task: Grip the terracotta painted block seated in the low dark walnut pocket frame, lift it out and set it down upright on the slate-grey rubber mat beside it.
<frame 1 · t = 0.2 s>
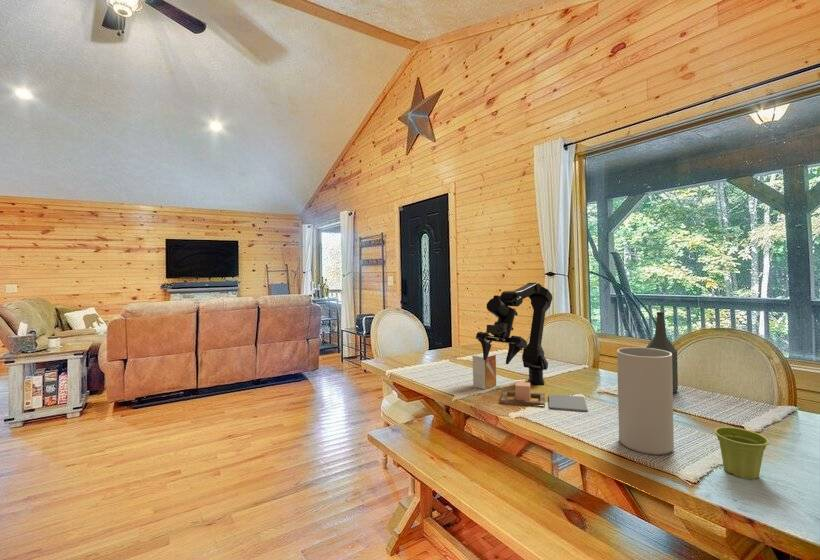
hand: (495, 362, 141), 14 cm above the table, tool tilted 30°, fingers open, 9 cm apart
holder: (523, 400, 142), on the table
plant pot: (741, 473, 88), on the table
bottle: (661, 390, 149), on the table
small box: (484, 386, 160), on the table
cylinder vase: (645, 445, 103), on the table
block: (523, 392, 142), in the holder
mat: (567, 403, 137), on the table
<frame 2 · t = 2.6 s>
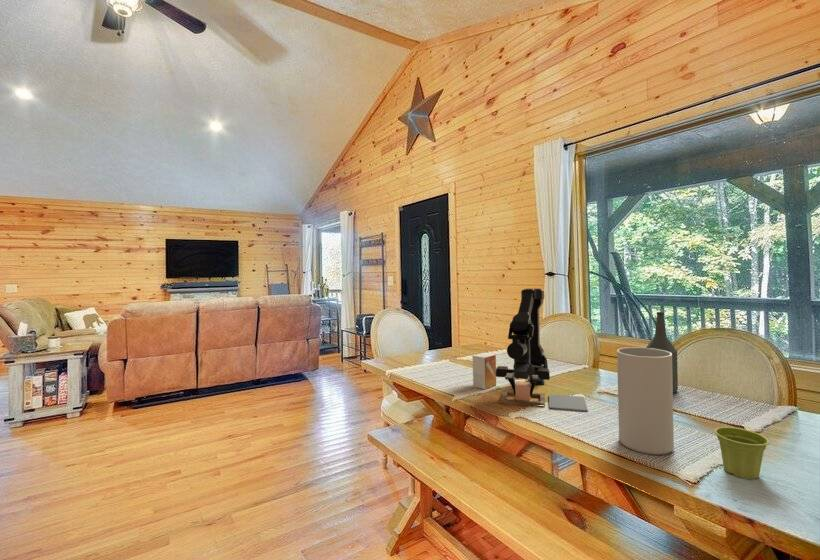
hand: (523, 395, 142), 2 cm above the table, tool pointing down, fingers closed on block, 5 cm apart
block: (523, 391, 142), in the holder, touching gripper
everything else where it was.
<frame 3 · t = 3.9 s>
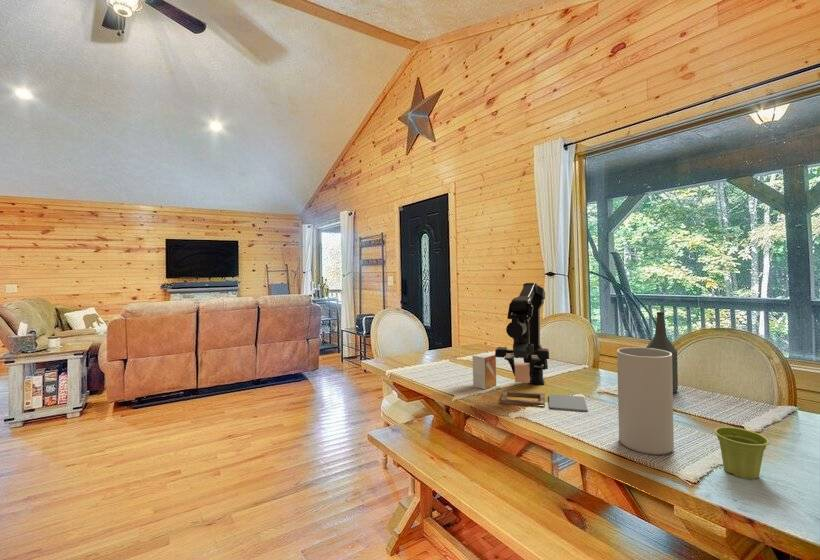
hand: (522, 376, 141), 9 cm above the table, tool pointing down, fingers closed on block, 5 cm apart
block: (522, 372, 141), point 10 cm above the table, touching gripper
everything else where it was.
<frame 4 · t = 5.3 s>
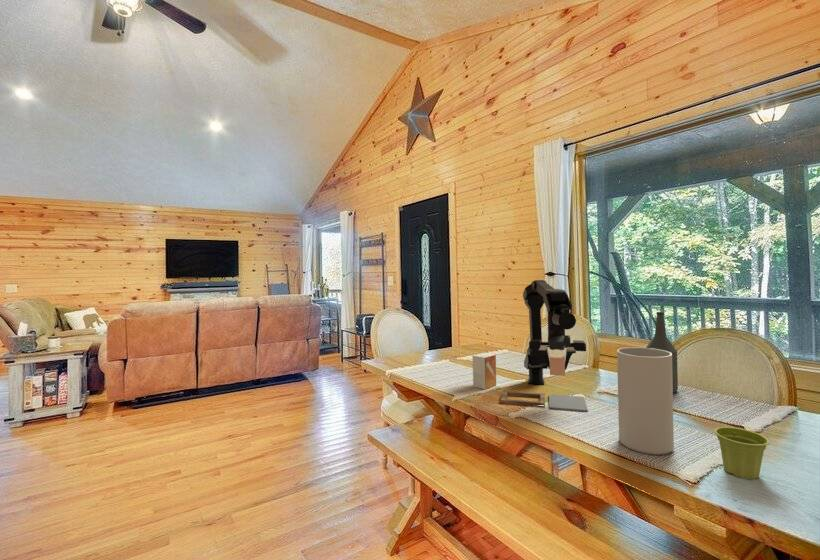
hand: (557, 369, 137), 12 cm above the table, tool pointing down, fingers closed on block, 5 cm apart
block: (557, 365, 137), point 14 cm above the table, touching gripper
everything else where it was.
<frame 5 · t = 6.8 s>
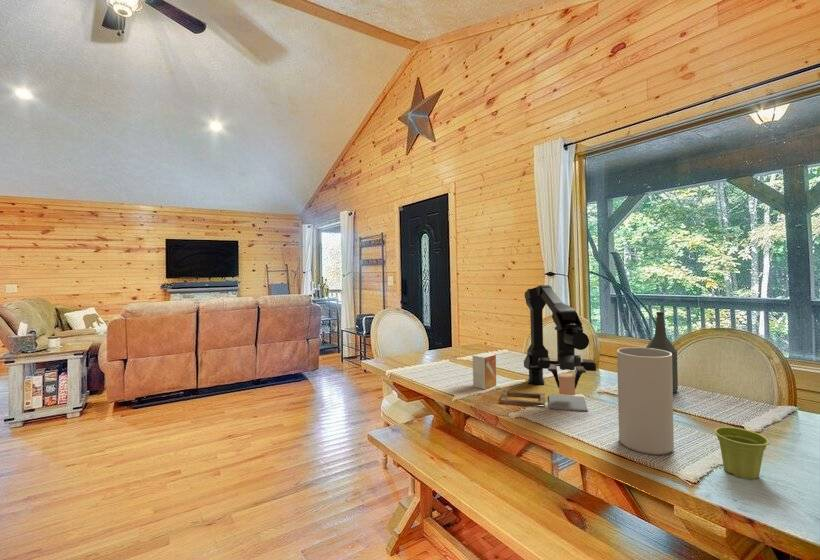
hand: (566, 388, 137), 5 cm above the table, tool pointing down, fingers closed on block, 5 cm apart
block: (566, 384, 136), point 7 cm above the table, touching gripper
everything else where it was.
when the fingers open (3 cm above the table, at t = 8.0 s): block drops 1 cm, resting on mat.
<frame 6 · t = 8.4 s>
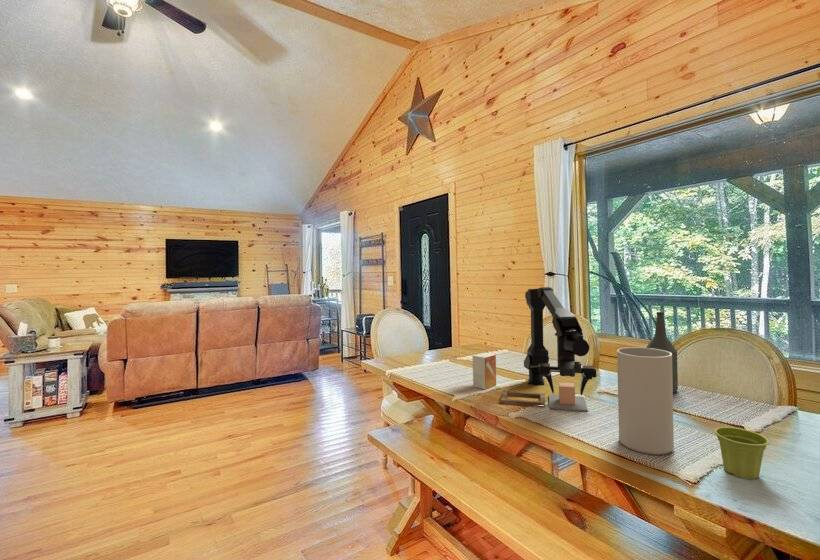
hand: (566, 394, 137), 3 cm above the table, tool pointing down, fingers open, 9 cm apart
block: (566, 393, 137), on the mat, point 4 cm above the table
everything else where it was.
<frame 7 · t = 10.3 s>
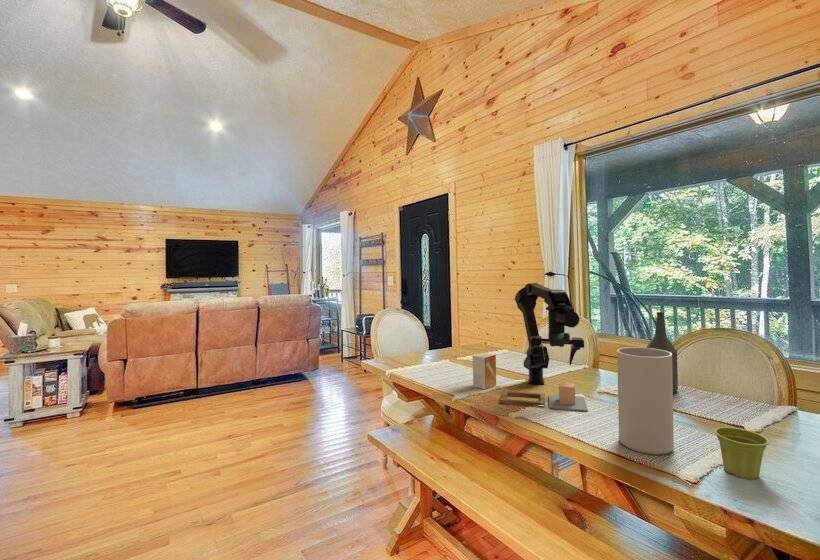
hand: (556, 364, 146), 12 cm above the table, tool pointing down, fingers open, 9 cm apart
nothing on the table moved.
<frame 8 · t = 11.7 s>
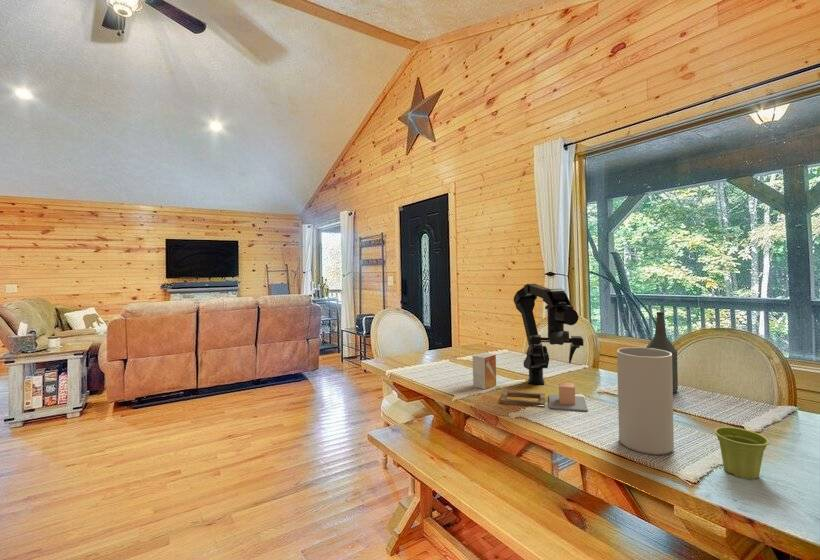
hand: (556, 362, 147), 12 cm above the table, tool pointing down, fingers open, 9 cm apart
nothing on the table moved.
at the end: block inside the target area on the mat (0.1 cm from its centre), point 3.6 cm above the mat's base; block tilted 0°; the gripper is holding nothing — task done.
